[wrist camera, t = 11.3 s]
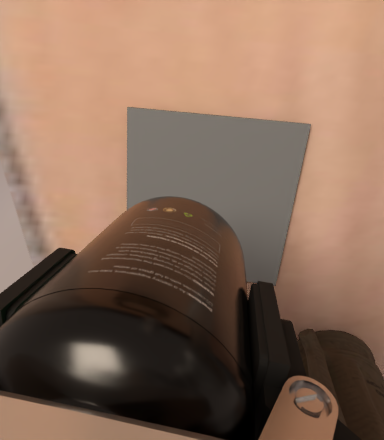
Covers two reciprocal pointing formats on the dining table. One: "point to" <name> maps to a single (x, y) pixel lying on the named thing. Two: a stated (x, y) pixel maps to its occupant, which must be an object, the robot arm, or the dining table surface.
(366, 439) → the beer stein
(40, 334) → the supplement bottle
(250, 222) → the mat
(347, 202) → the dining table surface
